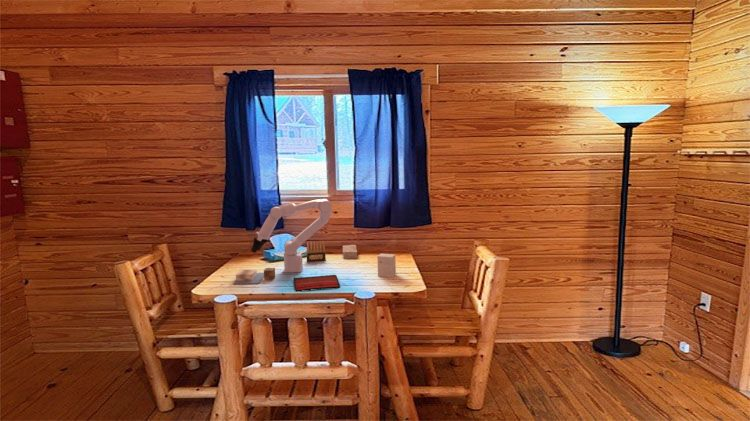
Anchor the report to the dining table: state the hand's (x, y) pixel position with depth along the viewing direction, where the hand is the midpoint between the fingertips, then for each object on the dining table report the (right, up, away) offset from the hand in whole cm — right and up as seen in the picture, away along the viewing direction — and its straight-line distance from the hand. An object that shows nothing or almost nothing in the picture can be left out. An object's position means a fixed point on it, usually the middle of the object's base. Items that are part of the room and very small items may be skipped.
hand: (254, 250), depth 215 cm
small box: (+68, -12, -4) cm, 69 cm away
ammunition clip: (+28, -8, +24) cm, 38 cm away
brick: (+47, -7, +36) cm, 59 cm away
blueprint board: (0, -13, -8) cm, 15 cm away
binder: (+34, -15, -17) cm, 41 cm away
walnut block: (+10, -13, -7) cm, 18 cm away
